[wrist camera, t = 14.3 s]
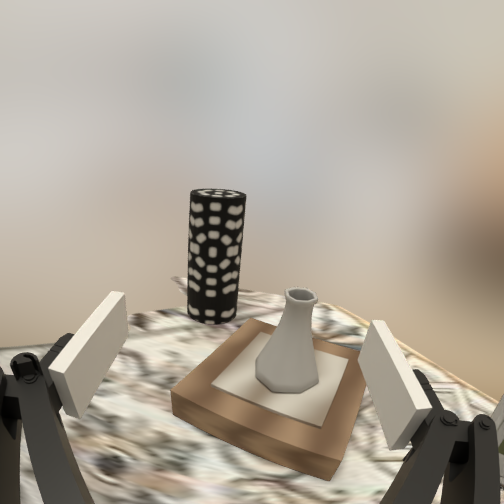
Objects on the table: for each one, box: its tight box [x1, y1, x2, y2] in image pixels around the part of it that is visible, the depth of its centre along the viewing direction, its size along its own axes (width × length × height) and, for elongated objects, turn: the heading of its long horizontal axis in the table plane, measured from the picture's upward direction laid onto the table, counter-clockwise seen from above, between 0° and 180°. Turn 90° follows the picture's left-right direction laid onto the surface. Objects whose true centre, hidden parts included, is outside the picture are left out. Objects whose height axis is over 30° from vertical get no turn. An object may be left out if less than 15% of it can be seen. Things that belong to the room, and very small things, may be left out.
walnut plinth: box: [170, 318, 366, 481], centre depth 34 cm, size 18×18×4 cm
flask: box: [255, 287, 319, 392], centre depth 31 cm, size 7×7×10 cm
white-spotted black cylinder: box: [187, 189, 246, 324], centre depth 49 cm, size 8×8×20 cm
